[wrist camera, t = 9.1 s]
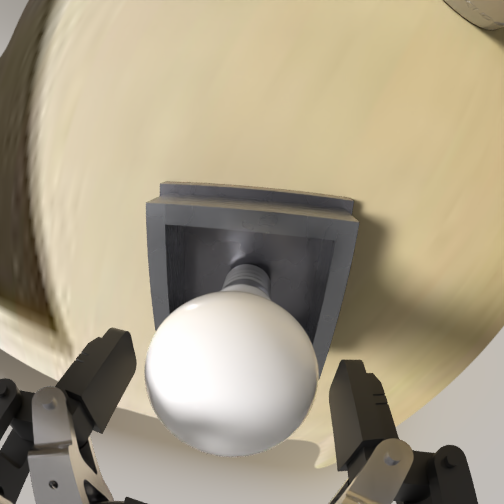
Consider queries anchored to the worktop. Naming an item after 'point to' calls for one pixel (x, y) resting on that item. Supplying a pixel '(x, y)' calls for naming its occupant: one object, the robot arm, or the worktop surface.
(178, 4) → the worktop surface
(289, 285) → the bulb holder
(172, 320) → the lightbulb
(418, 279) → the worktop surface
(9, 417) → the robot arm
